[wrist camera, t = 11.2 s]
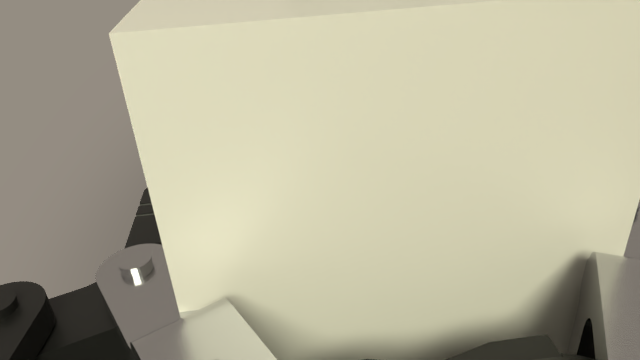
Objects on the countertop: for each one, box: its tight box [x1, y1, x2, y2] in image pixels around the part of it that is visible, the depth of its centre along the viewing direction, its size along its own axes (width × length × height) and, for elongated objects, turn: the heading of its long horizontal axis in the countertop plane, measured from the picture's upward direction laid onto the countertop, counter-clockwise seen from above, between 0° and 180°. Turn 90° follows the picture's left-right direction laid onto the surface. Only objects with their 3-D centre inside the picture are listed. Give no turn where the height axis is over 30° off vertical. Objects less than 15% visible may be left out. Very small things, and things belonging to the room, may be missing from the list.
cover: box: [109, 0, 640, 360], centre depth 11 cm, size 6×6×13 cm
